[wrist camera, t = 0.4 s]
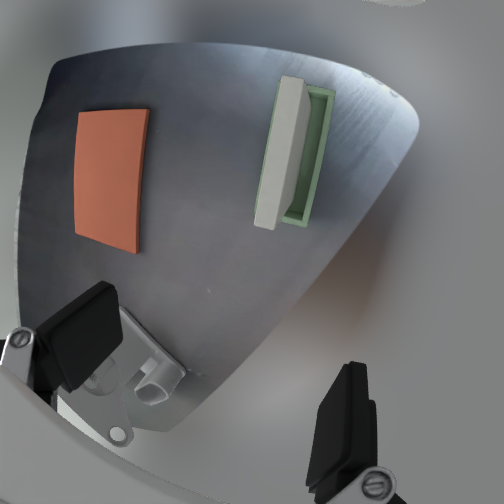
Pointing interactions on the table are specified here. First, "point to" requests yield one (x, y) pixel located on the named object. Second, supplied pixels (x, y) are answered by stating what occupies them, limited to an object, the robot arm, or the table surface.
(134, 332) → the phone holder
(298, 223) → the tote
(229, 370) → the table surface
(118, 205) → the mat
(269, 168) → the board
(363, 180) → the table surface
